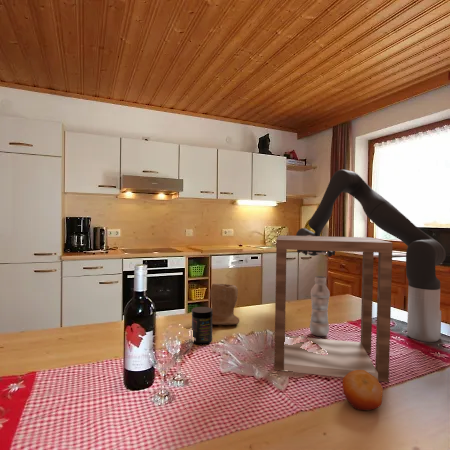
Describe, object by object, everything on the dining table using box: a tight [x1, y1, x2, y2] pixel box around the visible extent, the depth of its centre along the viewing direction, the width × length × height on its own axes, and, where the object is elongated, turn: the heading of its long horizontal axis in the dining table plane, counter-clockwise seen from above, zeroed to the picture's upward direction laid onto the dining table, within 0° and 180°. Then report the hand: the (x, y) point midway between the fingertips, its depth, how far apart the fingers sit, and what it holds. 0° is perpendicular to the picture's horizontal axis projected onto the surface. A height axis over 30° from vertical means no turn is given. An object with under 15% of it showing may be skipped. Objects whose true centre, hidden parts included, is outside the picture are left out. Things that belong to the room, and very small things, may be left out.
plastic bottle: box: [309, 275, 331, 337], centre depth 111 cm, size 6×7×20 cm
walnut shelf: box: [273, 234, 393, 383], centre depth 92 cm, size 20×28×34 cm
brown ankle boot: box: [209, 283, 240, 326], centre depth 122 cm, size 15×12×15 cm
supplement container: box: [191, 306, 213, 346], centre depth 103 cm, size 7×7×10 cm
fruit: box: [342, 370, 384, 411], centre depth 70 cm, size 8×8×8 cm
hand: (318, 253), depth 119 cm, fingers open, 8 cm apart
